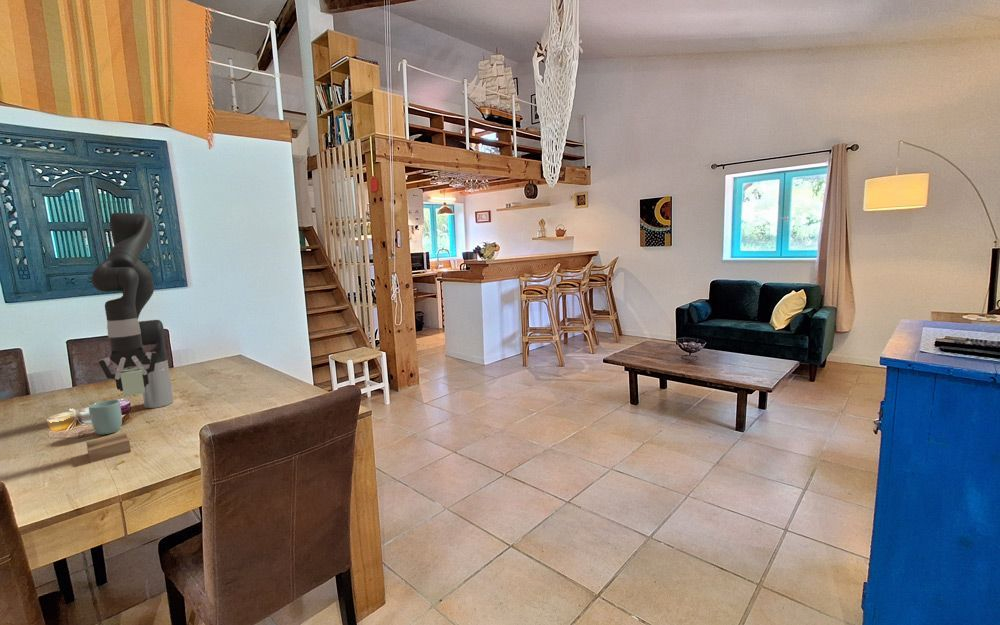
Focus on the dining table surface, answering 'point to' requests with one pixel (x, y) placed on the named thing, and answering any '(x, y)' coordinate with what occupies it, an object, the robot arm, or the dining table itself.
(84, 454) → the dining table surface
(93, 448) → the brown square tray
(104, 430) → the cup
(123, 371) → the green block
